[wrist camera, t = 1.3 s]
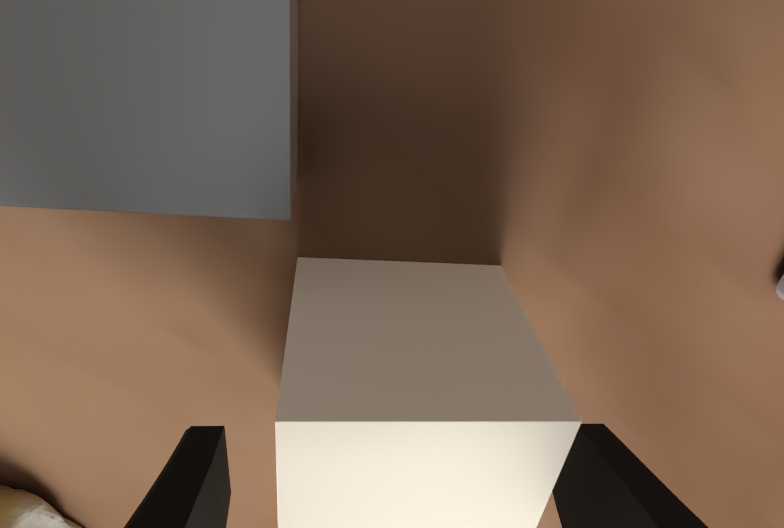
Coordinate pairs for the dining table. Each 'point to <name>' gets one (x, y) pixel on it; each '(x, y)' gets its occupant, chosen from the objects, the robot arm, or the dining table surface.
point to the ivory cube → (415, 400)
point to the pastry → (28, 511)
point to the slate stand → (150, 106)
